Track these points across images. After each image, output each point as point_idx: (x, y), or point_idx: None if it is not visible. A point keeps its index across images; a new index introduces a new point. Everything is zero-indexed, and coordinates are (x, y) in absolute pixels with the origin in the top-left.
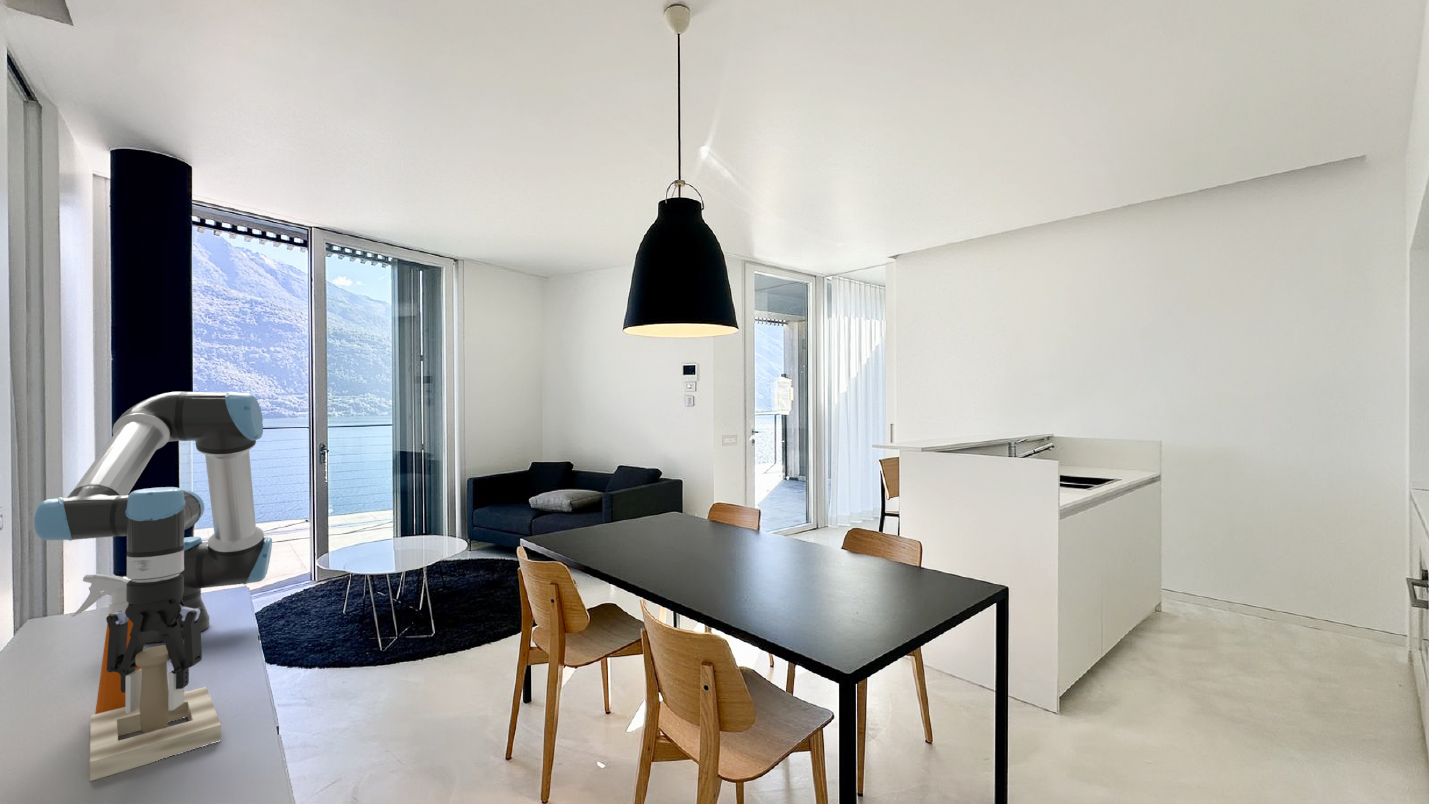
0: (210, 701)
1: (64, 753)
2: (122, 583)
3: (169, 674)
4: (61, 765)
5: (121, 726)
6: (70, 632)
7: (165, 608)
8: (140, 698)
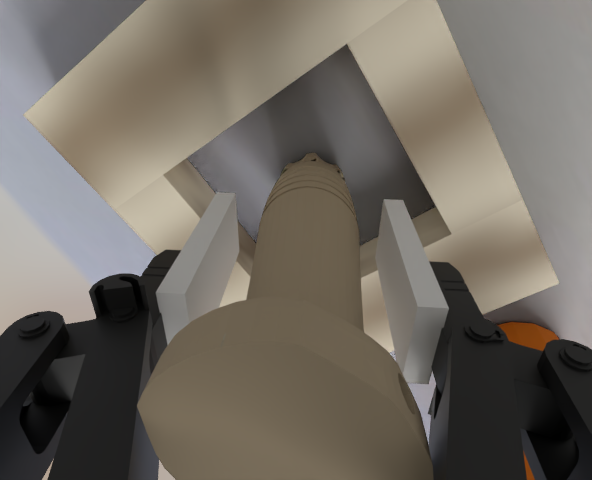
0: None
1: (553, 124)
2: None
3: (180, 286)
4: (525, 28)
5: (432, 226)
6: None
7: None
8: (347, 226)
